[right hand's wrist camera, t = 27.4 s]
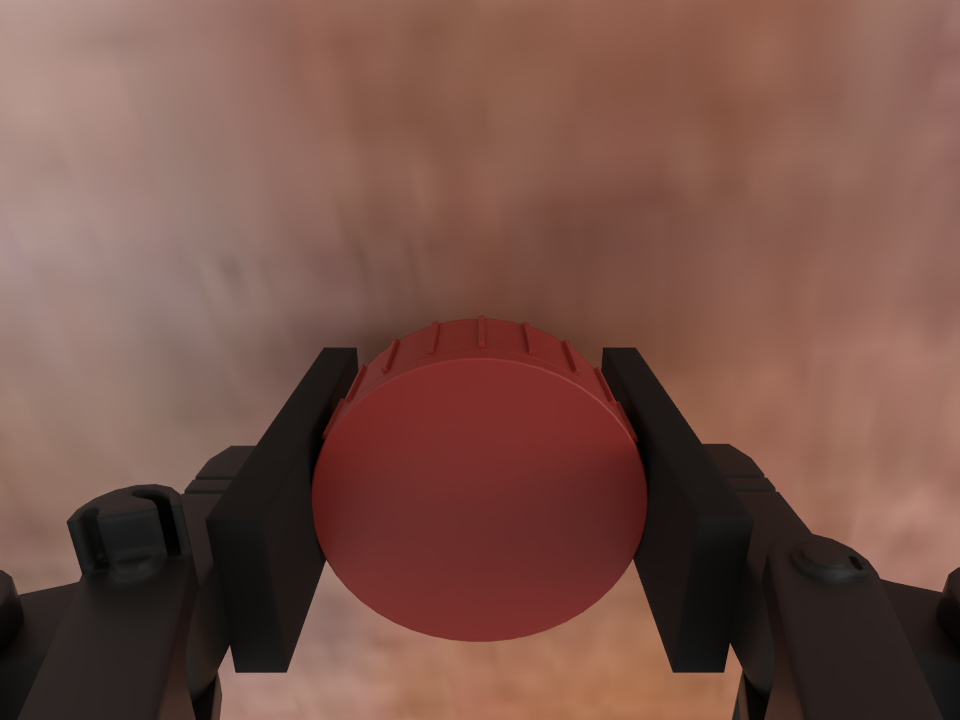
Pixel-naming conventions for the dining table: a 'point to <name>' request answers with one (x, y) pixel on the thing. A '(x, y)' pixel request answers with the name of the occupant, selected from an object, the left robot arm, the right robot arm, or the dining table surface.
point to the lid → (479, 483)
